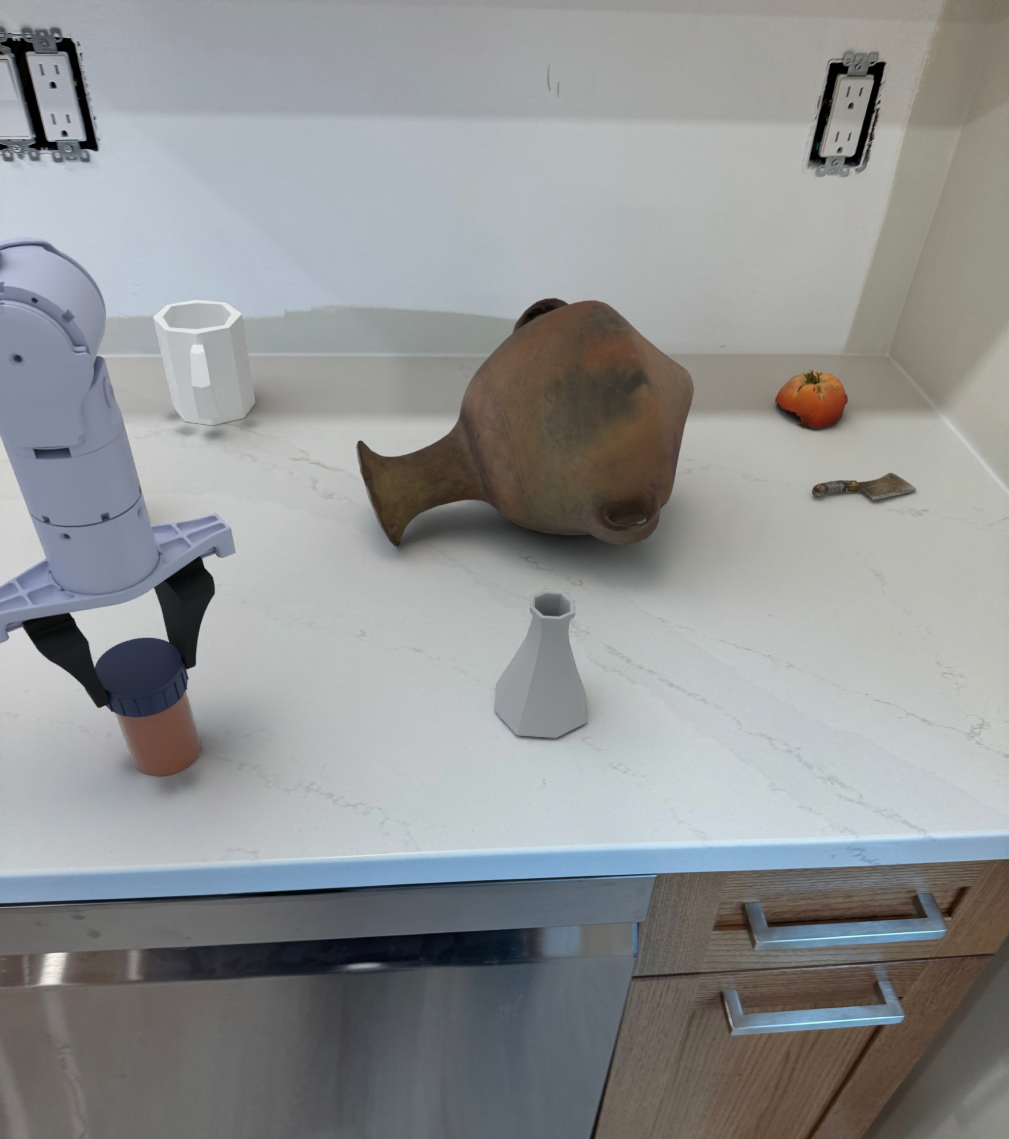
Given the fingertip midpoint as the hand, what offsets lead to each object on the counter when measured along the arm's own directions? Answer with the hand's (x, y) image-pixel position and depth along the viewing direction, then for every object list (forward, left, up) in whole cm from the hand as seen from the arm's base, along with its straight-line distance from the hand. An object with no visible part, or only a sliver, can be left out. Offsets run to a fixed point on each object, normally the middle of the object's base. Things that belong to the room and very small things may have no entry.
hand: (142, 677), depth 57 cm
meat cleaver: (+71, +6, -7) cm, 72 cm away
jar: (0, 0, -7) cm, 7 cm away
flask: (+26, -7, -7) cm, 28 cm away
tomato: (+77, +21, -7) cm, 80 cm away
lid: (0, 0, +1) cm, 1 cm away
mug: (+15, +45, -7) cm, 48 cm away
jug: (+36, +15, -7) cm, 40 cm away
